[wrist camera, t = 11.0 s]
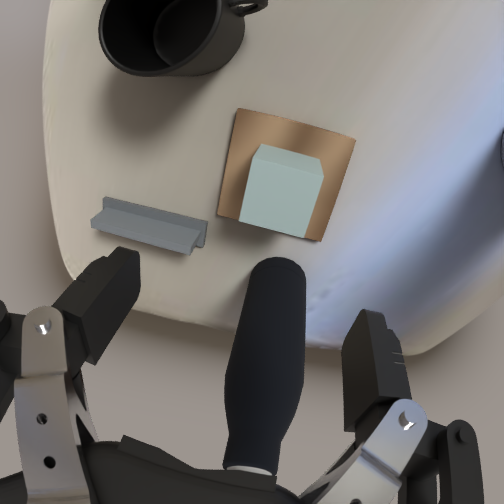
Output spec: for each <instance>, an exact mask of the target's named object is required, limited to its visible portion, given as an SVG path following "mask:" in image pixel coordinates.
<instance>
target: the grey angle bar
mask: <svg viewBox="0 0 504 504" xmlns="http://www.w3.org/2000/svg"><path fill="white" fill-rule="evenodd" d="M207 224H208V222H207V221H203V220H199V219H195V218H191V217H187V216H183V215H179V214H175V213H171V212H167V211H163V210H159V209H155V208H151V207H146V206H142V205H138V204H134V203H130V202H126V201H121V200H117V199H113V198H109V197H104V198H103V210H102V211H101V212H100V213H98V214H97V215H96V216H95V217H93V218H92V219H91V228H94V229H98V230H101V231H105V232H108V233H112V234H115V235H119V236H122V237H126V238H129V239H133V240H136V241H140V242H143V243H147V244H151V245H154V246H158V247H162V248H165V249H169V250H172V251H176V252H180V253H183V254H187V255H190V254H191V253H192V251H193V249H194V248H195V246H199V247H202V248H203V246H204V244H205V237H206V230H207Z"/></svg>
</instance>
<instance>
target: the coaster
mask: <svg viewBox="0 0 504 504" xmlns="http://www.w3.org/2000/svg"><path fill="white" fill-rule="evenodd" d="M355 142H356V140H355V139H353V138H350V137H347V136H344V135H341V134H338V133H335V132H331V131H328V130H325V129H322V128H318V127H315V126H311V125H308V124H304V123H300V122H297V121H293V120H289V119H285V118H281V117H277V116H273V115H269V114H265V113H260V112H256V111H251V110H246V109H242V108H238V109H237V114H236V119H235V124H234V129H233V133H232V138H231V143H230V148H229V153H228V159H227V164H226V169H225V174H224V180H223V185H222V190H221V196H220V201H219V207H218V213H217V215H220V216H224V217H228V218H232V219H236V220H239V217H240V213H241V208H242V204H243V199H244V194H245V190H246V185H247V181H248V176H249V172H250V168H251V163H252V159H253V156H254V155H255V153H256V151H257V150H258V148H259V147H260V145H261V144H265V145H269V146H273V147H277V148H281V149H285V150H288V151H292V152H296V153H299V154H303V155H307V156H310V157H314V158H317V159H320V163H321V167H322V171H323V175H324V178H323V181H322V185H321V188H320V191H319V194H318V197H317V200H316V203H315V206H314V209H313V212H312V215H311V218H310V221H309V224H308V227H307V230H306V233H305V236H304V237H305V238H309V239H312V240H316V241H320V242H321V241H322V238H323V235H324V232H325V230H326V227H327V224H328V222H329V219H330V216H331V213H332V210H333V208H334V205H335V202H336V199H337V196H338V193H339V190H340V188H341V185H342V182H343V179H344V176H345V173H346V170H347V167H348V164H349V161H350V158H351V155H352V151H353V148H354V145H355Z"/></svg>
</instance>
